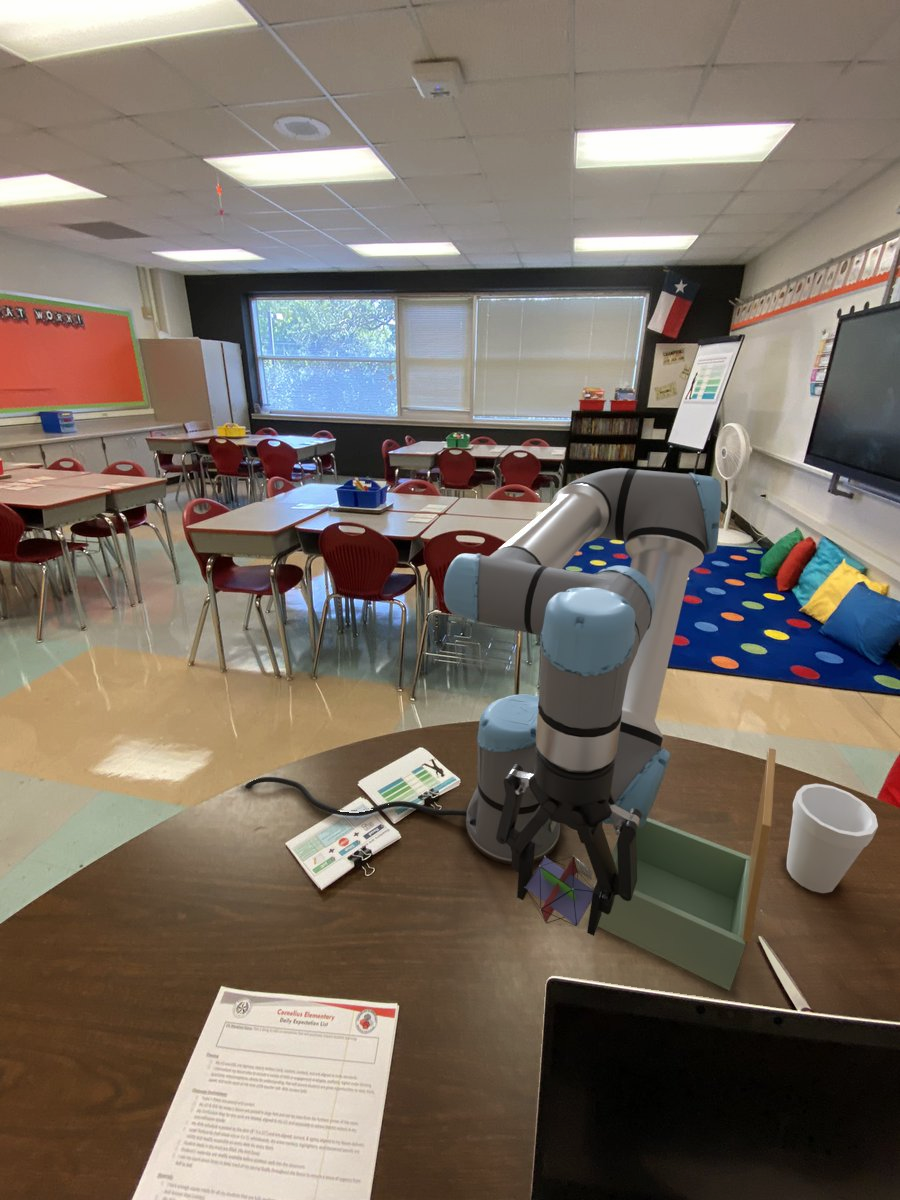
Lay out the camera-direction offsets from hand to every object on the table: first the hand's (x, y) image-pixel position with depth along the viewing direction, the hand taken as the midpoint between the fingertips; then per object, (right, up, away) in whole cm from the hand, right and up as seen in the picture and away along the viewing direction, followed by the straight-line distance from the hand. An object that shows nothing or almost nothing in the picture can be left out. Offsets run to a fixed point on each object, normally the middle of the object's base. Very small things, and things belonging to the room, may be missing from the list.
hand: (558, 906), depth 61 cm
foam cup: (+41, -6, +19) cm, 46 cm away
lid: (+24, +6, +3) cm, 25 cm away
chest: (+18, -9, +14) cm, 24 cm away
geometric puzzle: (0, -1, 0) cm, 1 cm away
